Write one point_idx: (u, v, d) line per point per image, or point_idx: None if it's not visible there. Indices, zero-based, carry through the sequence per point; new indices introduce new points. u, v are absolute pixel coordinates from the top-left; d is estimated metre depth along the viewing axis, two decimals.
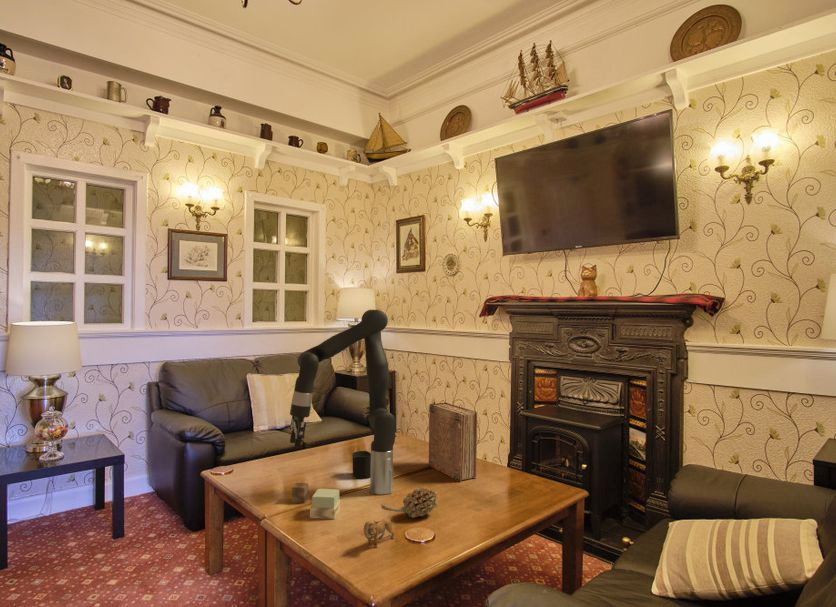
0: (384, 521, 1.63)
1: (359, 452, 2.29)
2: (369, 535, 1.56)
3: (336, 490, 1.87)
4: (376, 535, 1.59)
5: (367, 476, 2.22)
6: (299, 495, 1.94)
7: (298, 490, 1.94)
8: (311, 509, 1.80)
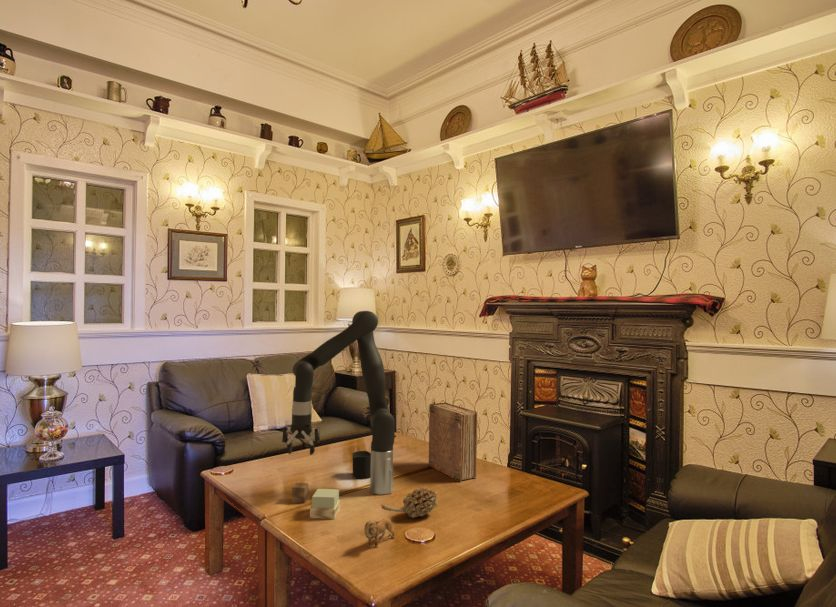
0: (384, 521, 1.64)
1: (359, 452, 2.29)
2: (370, 535, 1.56)
3: (336, 490, 1.87)
4: (377, 535, 1.59)
5: (367, 476, 2.22)
6: (299, 495, 1.94)
7: (298, 490, 1.94)
8: (311, 509, 1.80)
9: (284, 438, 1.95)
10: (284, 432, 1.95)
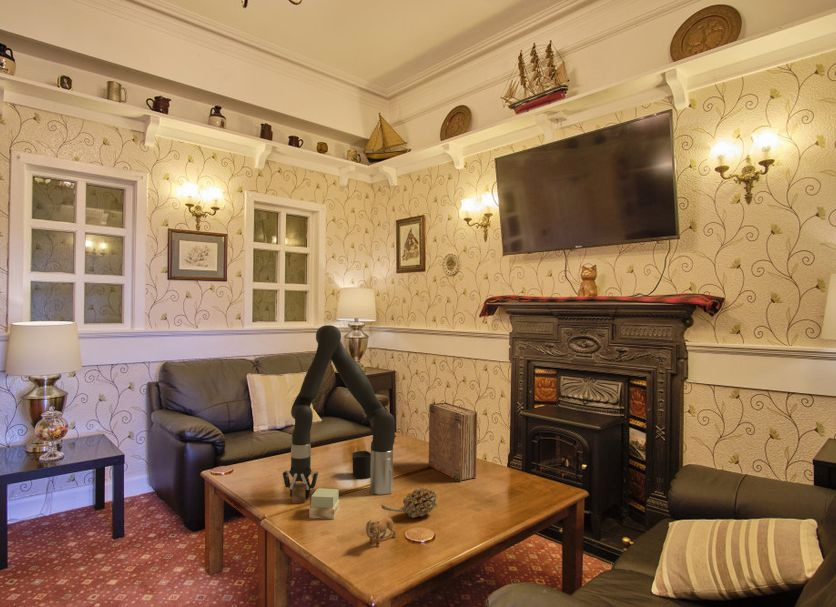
0: (386, 520, 1.64)
1: (359, 452, 2.29)
2: (371, 534, 1.57)
3: (335, 490, 1.87)
4: (378, 534, 1.59)
5: (367, 476, 2.22)
6: (299, 495, 1.94)
7: (298, 490, 1.94)
8: (310, 509, 1.80)
9: (286, 483, 1.95)
10: (284, 477, 1.95)
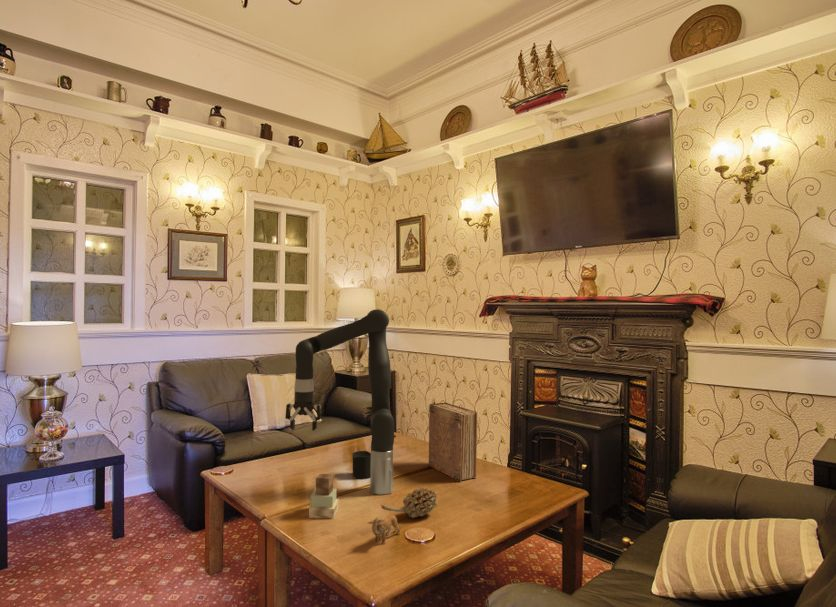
0: (390, 517, 1.66)
1: (359, 452, 2.29)
2: (378, 532, 1.59)
3: (333, 489, 1.88)
4: (384, 531, 1.61)
5: (367, 476, 2.22)
6: (323, 486, 1.82)
7: (322, 481, 1.82)
8: (310, 509, 1.80)
9: (287, 415, 2.02)
10: (287, 409, 2.02)
